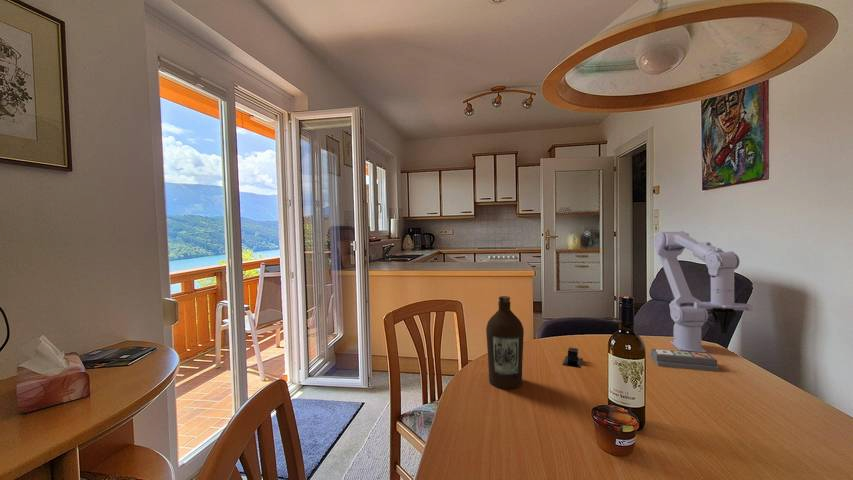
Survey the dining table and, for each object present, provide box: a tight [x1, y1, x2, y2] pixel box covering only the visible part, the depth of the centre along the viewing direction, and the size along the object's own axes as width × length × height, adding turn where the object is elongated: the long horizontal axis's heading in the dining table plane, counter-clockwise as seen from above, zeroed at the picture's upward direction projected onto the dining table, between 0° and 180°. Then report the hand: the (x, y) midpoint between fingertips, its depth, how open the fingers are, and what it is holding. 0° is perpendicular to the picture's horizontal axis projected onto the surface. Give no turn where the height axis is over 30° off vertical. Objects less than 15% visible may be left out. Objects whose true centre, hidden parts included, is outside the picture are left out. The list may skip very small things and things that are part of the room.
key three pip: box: [690, 351, 712, 359], centre depth 109 cm, size 4×4×2 cm
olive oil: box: [485, 295, 525, 390], centre depth 100 cm, size 11×11×25 cm
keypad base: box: [649, 348, 720, 372], centre depth 111 cm, size 8×16×3 cm, turn 72°
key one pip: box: [656, 349, 674, 356], centre depth 112 cm, size 4×4×2 cm
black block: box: [561, 347, 584, 369], centre depth 115 cm, size 12×7×5 cm, turn 151°
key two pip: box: [673, 350, 693, 357], centre depth 111 cm, size 4×4×2 cm
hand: (722, 332), depth 109 cm, fingers closed
